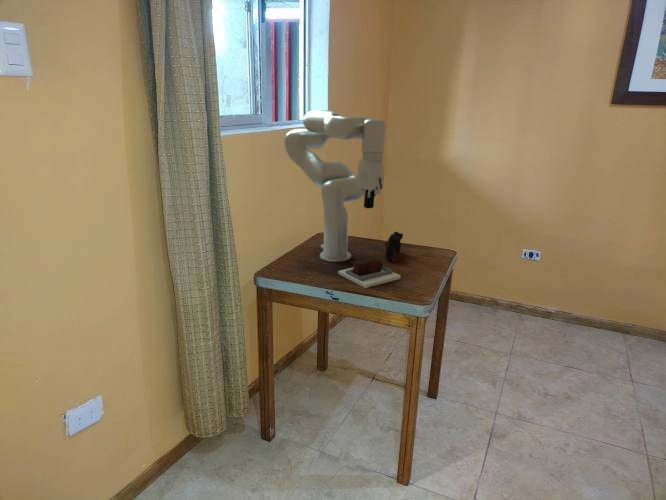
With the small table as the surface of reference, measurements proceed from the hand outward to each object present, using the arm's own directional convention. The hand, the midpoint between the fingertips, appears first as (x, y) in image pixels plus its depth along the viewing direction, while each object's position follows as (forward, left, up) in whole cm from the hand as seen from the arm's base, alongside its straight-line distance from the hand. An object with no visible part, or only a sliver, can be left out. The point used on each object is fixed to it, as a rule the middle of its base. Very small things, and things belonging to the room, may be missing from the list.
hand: (368, 207), depth 165 cm
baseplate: (+6, -3, -24) cm, 25 cm away
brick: (+5, -3, -23) cm, 24 cm away
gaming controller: (-6, +19, -24) cm, 31 cm away
